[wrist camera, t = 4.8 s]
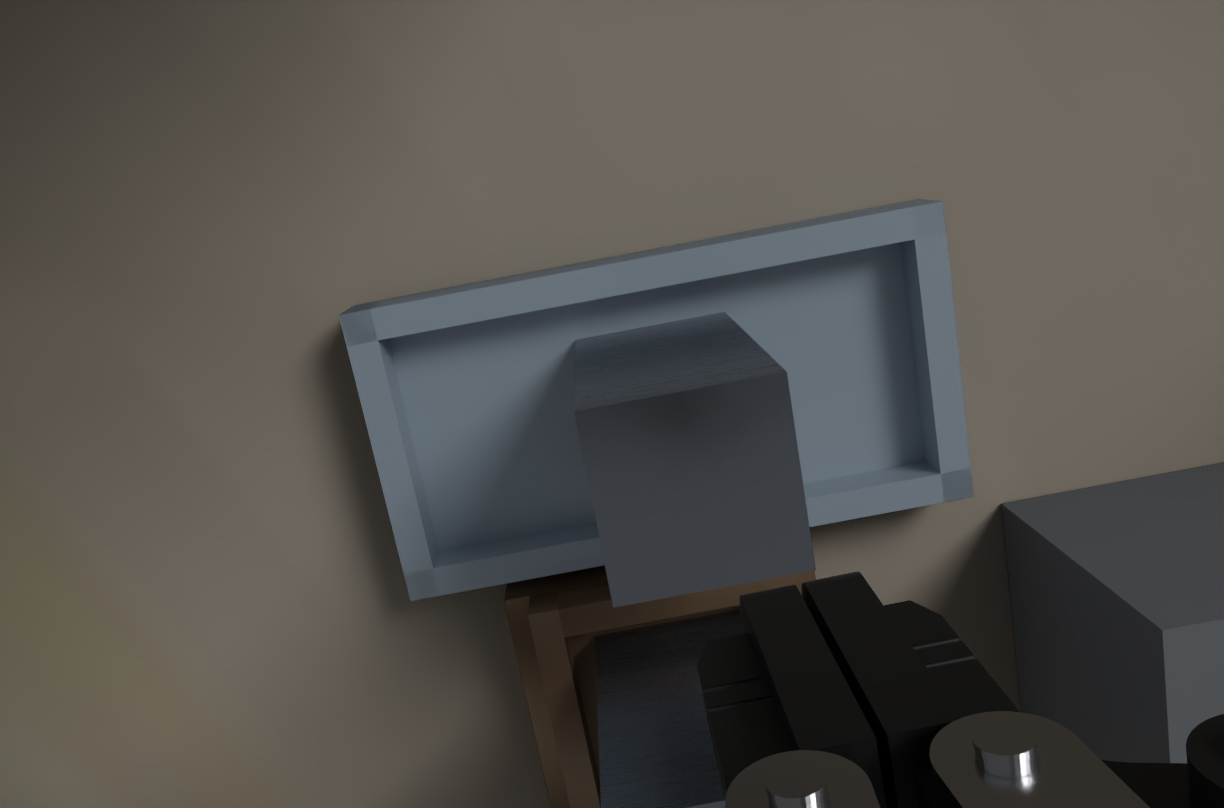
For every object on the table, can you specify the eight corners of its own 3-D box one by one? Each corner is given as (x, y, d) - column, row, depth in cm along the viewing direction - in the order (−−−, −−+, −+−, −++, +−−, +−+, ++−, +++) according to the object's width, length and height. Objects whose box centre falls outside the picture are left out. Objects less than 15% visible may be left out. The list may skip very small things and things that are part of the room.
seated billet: (594, 636, 27) (601, 823, 19) (738, 609, 27) (803, 786, 19) (620, 763, 28) (637, 991, 20) (759, 737, 28) (830, 955, 20)
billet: (575, 339, 26) (574, 411, 18) (724, 311, 26) (786, 371, 18) (602, 482, 27) (613, 607, 19) (746, 455, 27) (815, 569, 19)
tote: (354, 305, 26) (338, 314, 25) (918, 198, 26) (942, 201, 24) (420, 574, 28) (410, 601, 26) (949, 476, 28) (973, 496, 26)
